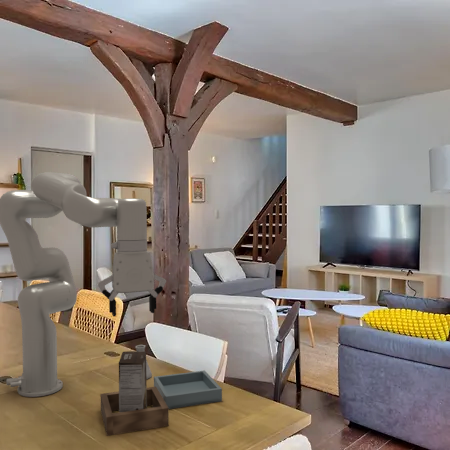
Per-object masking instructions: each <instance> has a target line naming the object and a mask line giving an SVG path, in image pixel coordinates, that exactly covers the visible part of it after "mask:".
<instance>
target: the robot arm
mask: <svg viewBox="0 0 450 450" xmlns="http://www.w3.org/2000/svg"><path fill="white" fill-rule="evenodd" d="M30 189H31V190H30ZM30 189H29V190H28V189H14V190H10V191H7V192H5V193H3V194H2V195H1V196H0V227H1V229H2V231H3V233H4V235H5V237H6V240H7V243H8V249H9V251H10V255H11V260H12V264H13V267H14V270H15V273H16V276H17V278H19V280H21V281H25V282H29V281H30V282H33V281H39V280H40V281H41V280H45V279H47V280H48V281H45V282H41V283H39V282H38V283H34V284H29V285H28V286H26V287H24V288H22V290H21V291H20V292H19V294H18V297H17V306H18V310H19V314H20V320H21V321H20V322H21V338H22V343H21V345H22V373H21V375H18V377H14V378H13V377H11V378H6V386H10V388H13V387H14V388H15V387H17V388H16V389H17V393H18V394H19V396H22V397H26V398H27V397H28V398H32V397H33V398H36V397H37V398H38V397H44V396H49V395H52V394H55V393H57V392H58V391H59V392H60V390H61V389H63V384H64V383H63V381H62V380H61V379H59V378H58V348H57V347H58V344H57V343H58V340H57V339H58V338H57V337H58V336H57V335H58V334H57V326H56V324H55V322H54V321H53V319H52V318H51V314H56V313H60V312H63V311H68V310H70V309H73V307H74V306H75V305H76V302H77V299H78V295H77V288H76V285H75V280H74V277H73V273H72V270H71V266H70V262H69V259H68V257H67V255H66V254H65V252H64V251H62V249H60V248H59V247H58V248H57V247H42V246H41V243H40V239H39V236H38V233H37V231H36V230H35V228H34V227H33V226H32V225H31V224H30V223H29V222H27V220H26V219H48V218H53V217H56V216H57V215H59V214H60V213H61V212H63V214H64V216H65V217H66V218H67V219H68V220H70V221H72V222H74V223H76V224H79V225H82V226H83V227H87V228H94V229H95V228H114V227H116V241H115V242H112V243H110V247H111V249H115V250H116V252H114V254H113V259H112V262H113V263H112V271H111V272H112V273H111V275H109V276H108V277H105V278H104V279H102V280H100V281H99V282H97V287H98V288H99V290H100V291H101V293H102V295H104V296H105V297H106V298H107V299H108V303H109V304H108V307H109V309H108V310H109V313H111V315H112V317H117V300H116V299H115V298H116V297H117V296H118V295H119V294H128V293H143V292H148V293H149V294H150V295H149V297H148V301H149V303H148V305H149V306H148V307H149V312H150V313H152V314H155V310H157V297H158V296H159V295H160V293H161V292H162V291H163V290H164V287H165V285H166V283H167V279H165V278H164V277H162V276H159V275H158V274H155V273H154V267H153V259H152V258H153V257H152V254H151V253H152V252H151V251H148V229H147V228H148V225H147V223H148V221H147V220H148V219H147V218H148V217H147V214H148V213H147V212H148V211H147V202H146V200H144V199H143V198H134V197H133V198H132V197H131V198H114V197H113V198H111V197H90V196H87V195H88V194H87V190H86V188H85V186H84V185H83V184H82V183H81V181H80V179H79V178H78V177H77V176H76V175H74V174H72V173H68V172H67V173H66V172H55V171H45V172H39V173H38V174H36V175H35V176H34V177H33V178H32V180H31V182H30ZM155 281H157V282H159V283H158V285H157V286H156V288H155V289H154V286H155ZM110 283H111V286H112V287H111V288H112V290H111V291H110V292H109V291H108V290H107V289H106V285H108V284H110Z"/></svg>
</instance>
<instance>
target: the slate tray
mask: <svg viewBox="0 0 450 450" xmlns="http://www.w3.org/2000/svg"><path fill="white" fill-rule="evenodd" d="M153 387H157V389H158V391H159V392H160V394H161V396H162V398H163V399H164V401H165V403H166V404H167V406H168V409H169V410H173V409H178V408H185V407H191V406H192V407H193V406H199V405H207V404H211V403H212V404H213V403H218V402H219V403H220V402H223V388H222V387H221V386H220V385H219V384H218V382H217V381H216V380H214V378H212V376H211V375H210V374H209V373H208V372H207V371H206V370H205V369H204V370H197V371H188V372H182V373H174V374H173V373H172V374H166V375H157V376H153Z"/></svg>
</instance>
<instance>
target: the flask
mask: <svg viewBox="0 0 450 450" xmlns="http://www.w3.org/2000/svg"><path fill="white" fill-rule="evenodd" d="M135 350H136V351H138V352H144V351H145V350H146V345H145V344H138V345H135ZM149 365H150V364H149V363H148V360H147V359H146V380H148V379H150V378H152V376H153V375H152V374H153V373H152V370H151V368H150V366H149Z"/></svg>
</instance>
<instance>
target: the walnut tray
mask: <svg viewBox="0 0 450 450" xmlns="http://www.w3.org/2000/svg"><path fill="white" fill-rule="evenodd" d="M151 406H152V407H151ZM169 410H170V409H168V406H167V404H166V403H165V401H164V399H163V398H162V396H161V394H160V392H159V391H158V389H157V387H154V386H151V387H150V386H149V387H147V409H140V410H134V411H127V412H120V413H119V412H117V411H119V390H118V391H112V392H105V393H100V414H101V417H102V421H103V426H104V430H105V434H106V436H107V437H108V436H114V435H115V436H116V435H120V434H126V433H132V432H137V431H138V432H140V431H145V430H150V429H156V428H164V427H168V426H170V425H169V422H170V421H169V419H170V418H169V412H170V411H169ZM115 411H116V412H115Z"/></svg>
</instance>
